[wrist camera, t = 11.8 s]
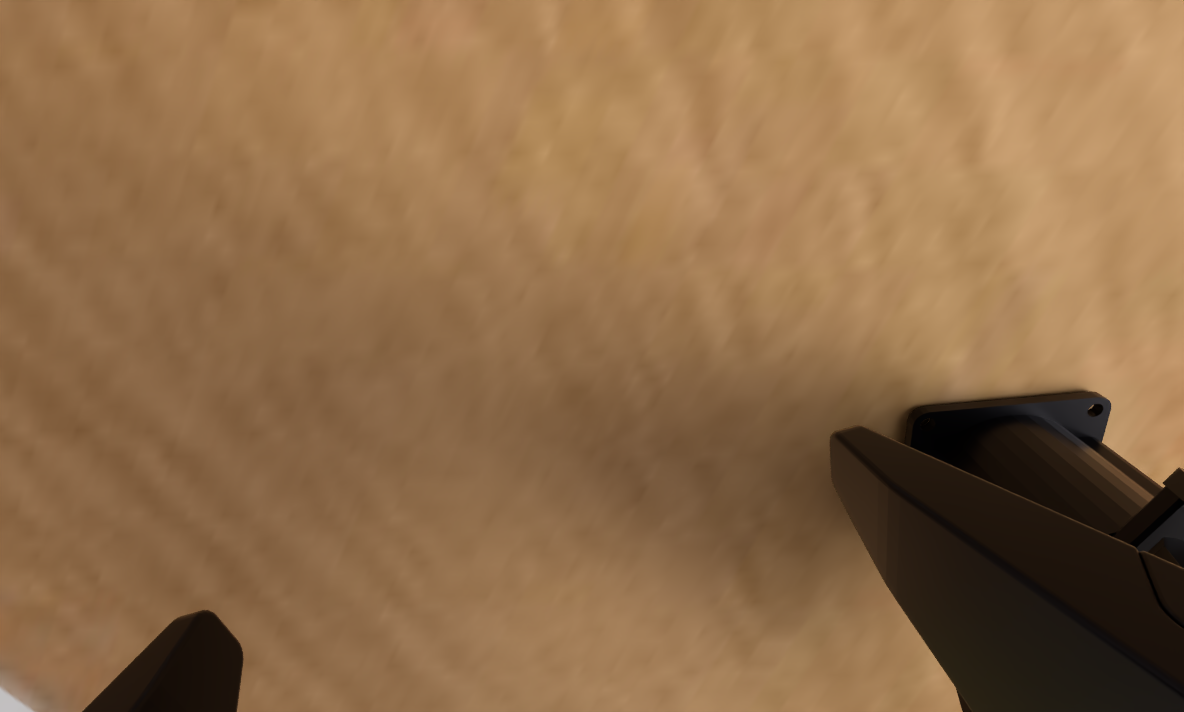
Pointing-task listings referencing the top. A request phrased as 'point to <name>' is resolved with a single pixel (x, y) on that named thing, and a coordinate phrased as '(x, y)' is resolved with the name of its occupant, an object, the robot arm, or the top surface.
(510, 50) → the top surface
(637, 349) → the top surface
